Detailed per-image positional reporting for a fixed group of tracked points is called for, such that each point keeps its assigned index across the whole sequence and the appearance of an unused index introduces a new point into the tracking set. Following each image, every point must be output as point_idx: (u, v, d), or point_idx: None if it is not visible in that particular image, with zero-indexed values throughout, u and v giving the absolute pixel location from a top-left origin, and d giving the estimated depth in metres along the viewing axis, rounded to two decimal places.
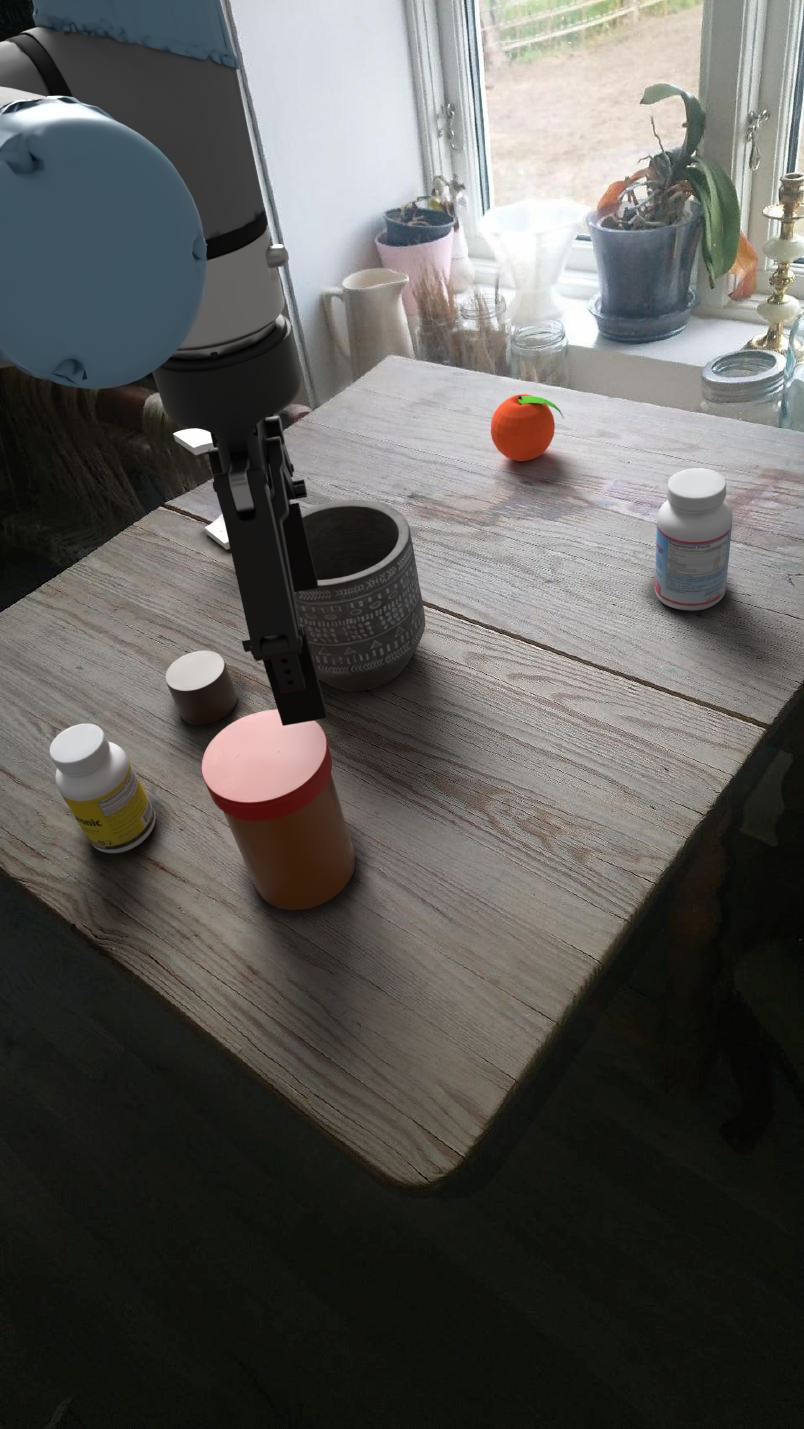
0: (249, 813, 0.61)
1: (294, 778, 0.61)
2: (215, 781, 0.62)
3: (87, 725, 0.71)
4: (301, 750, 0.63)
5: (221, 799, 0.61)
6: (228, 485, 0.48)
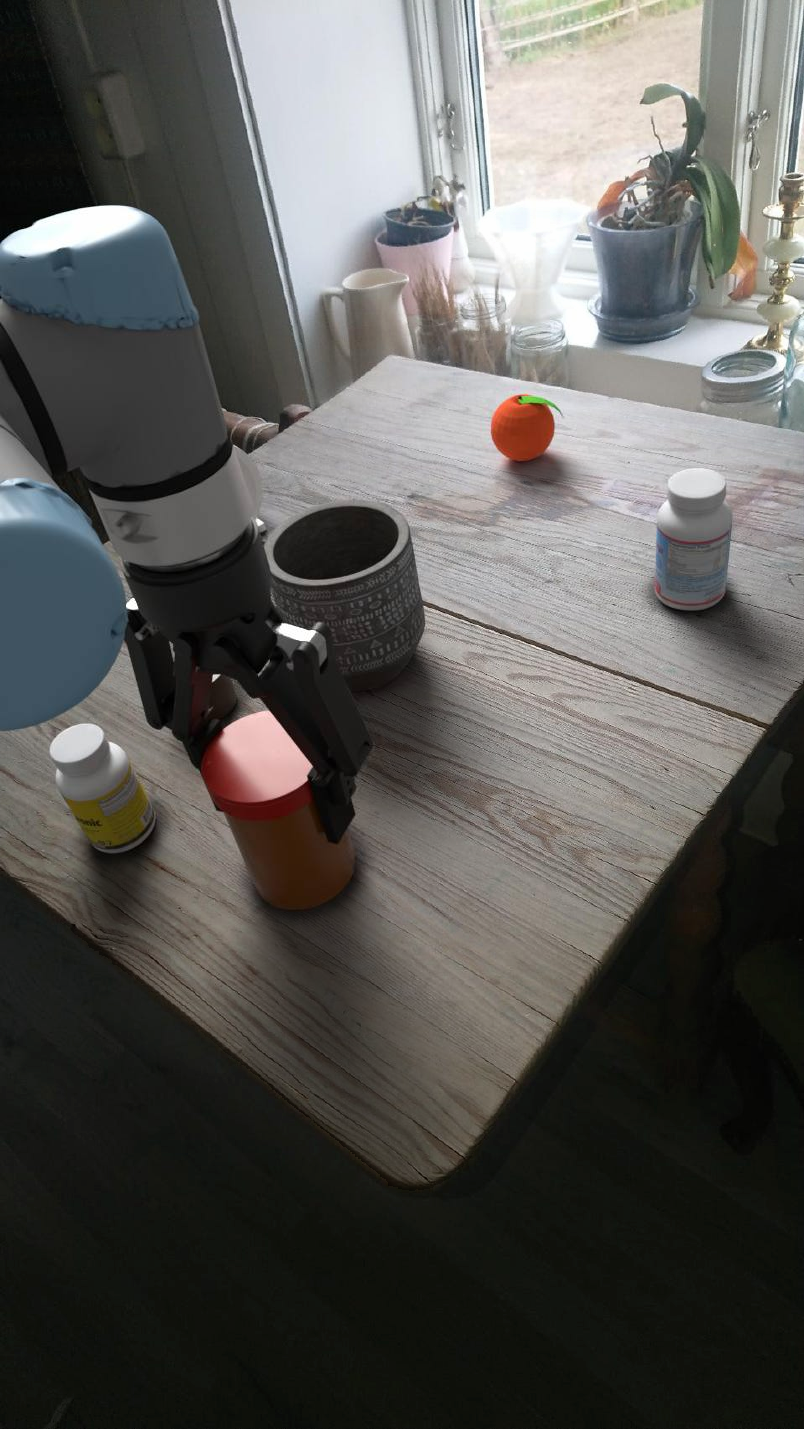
0: (249, 813, 0.61)
1: (294, 778, 0.61)
2: (215, 781, 0.62)
3: (87, 725, 0.71)
4: None
5: (221, 799, 0.61)
6: None
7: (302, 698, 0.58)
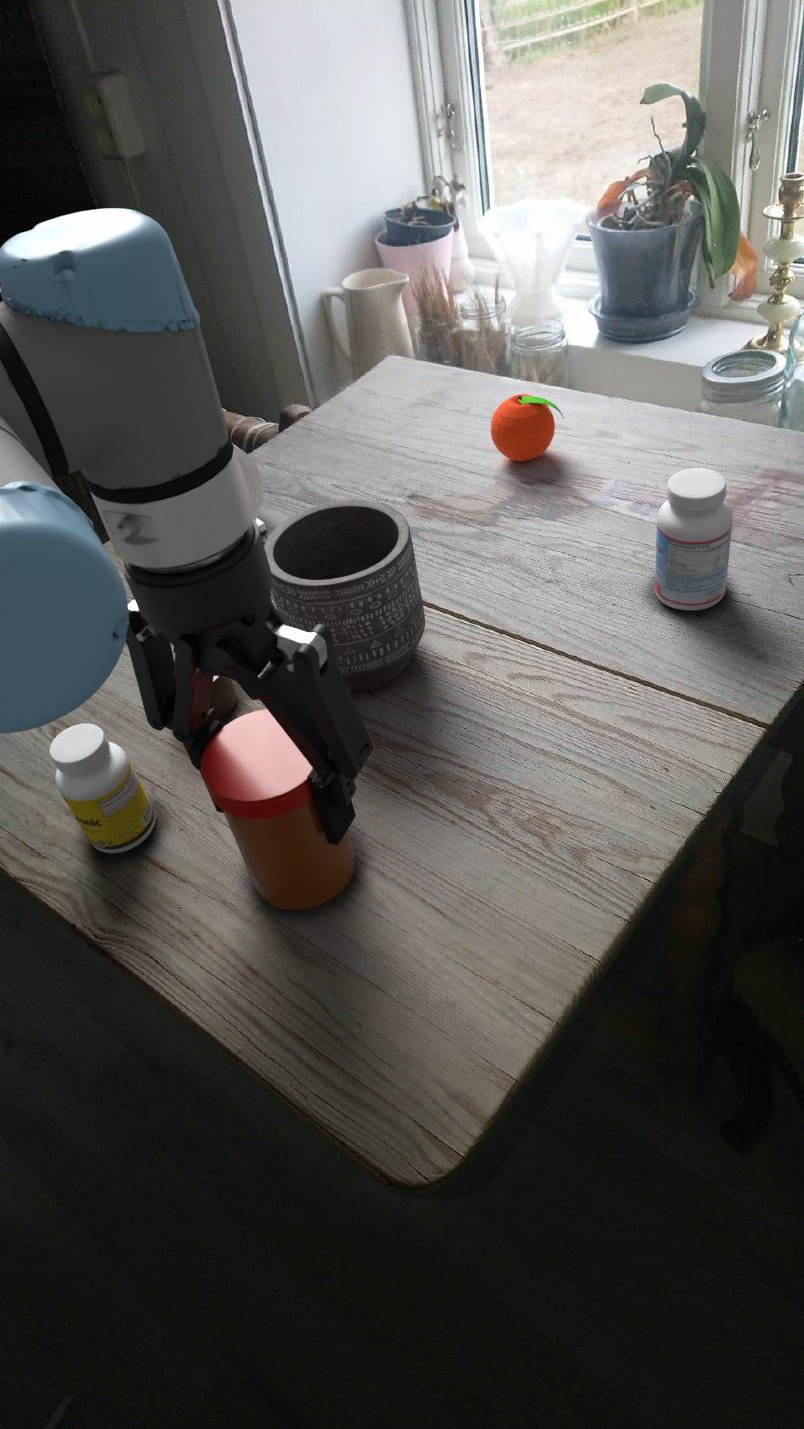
0: None
1: None
2: (302, 773, 0.61)
3: (87, 725, 0.71)
4: (258, 727, 0.65)
5: None
6: None
7: (303, 699, 0.58)
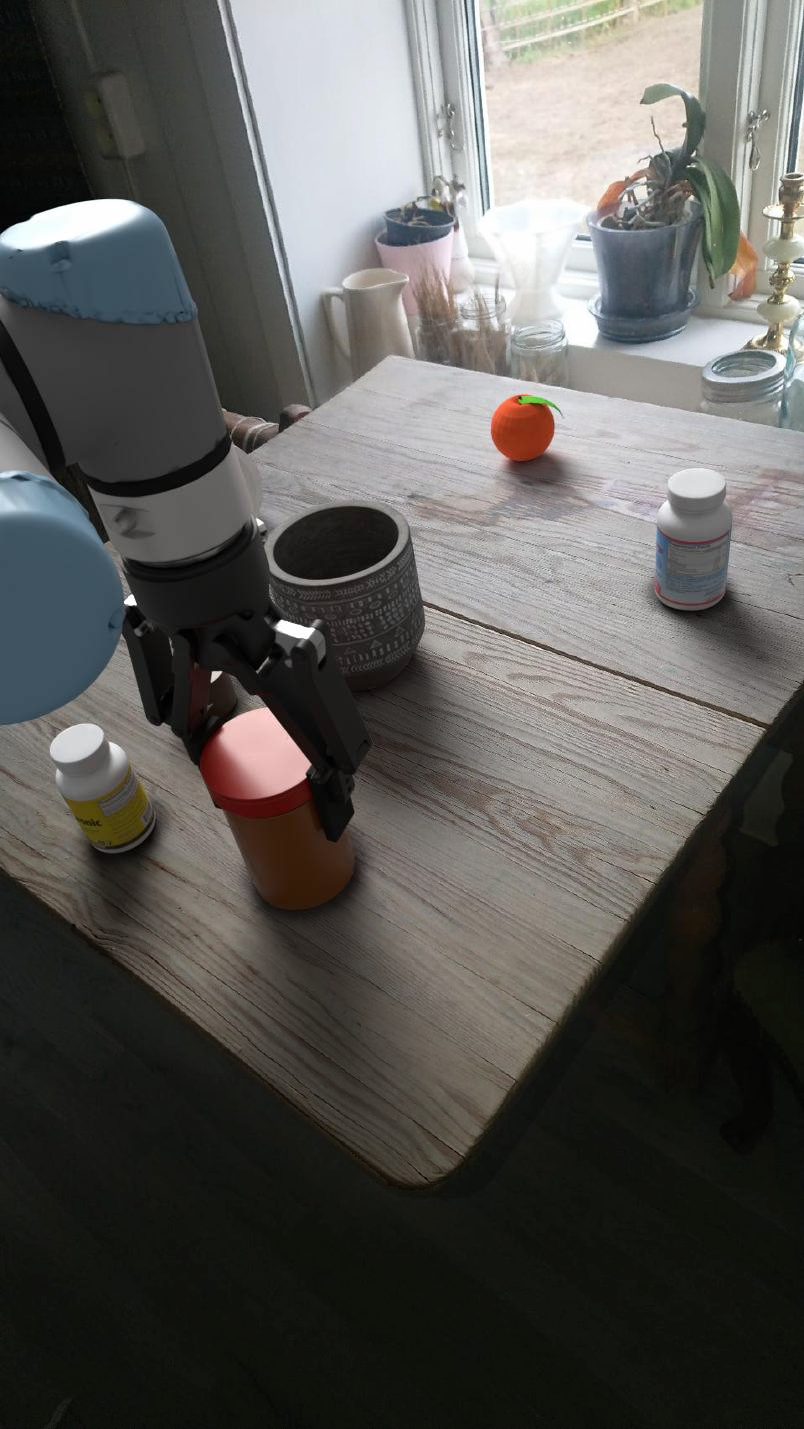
0: None
1: (216, 745, 0.64)
2: None
3: (87, 725, 0.71)
4: (228, 768, 0.62)
5: None
6: None
7: (301, 695, 0.57)
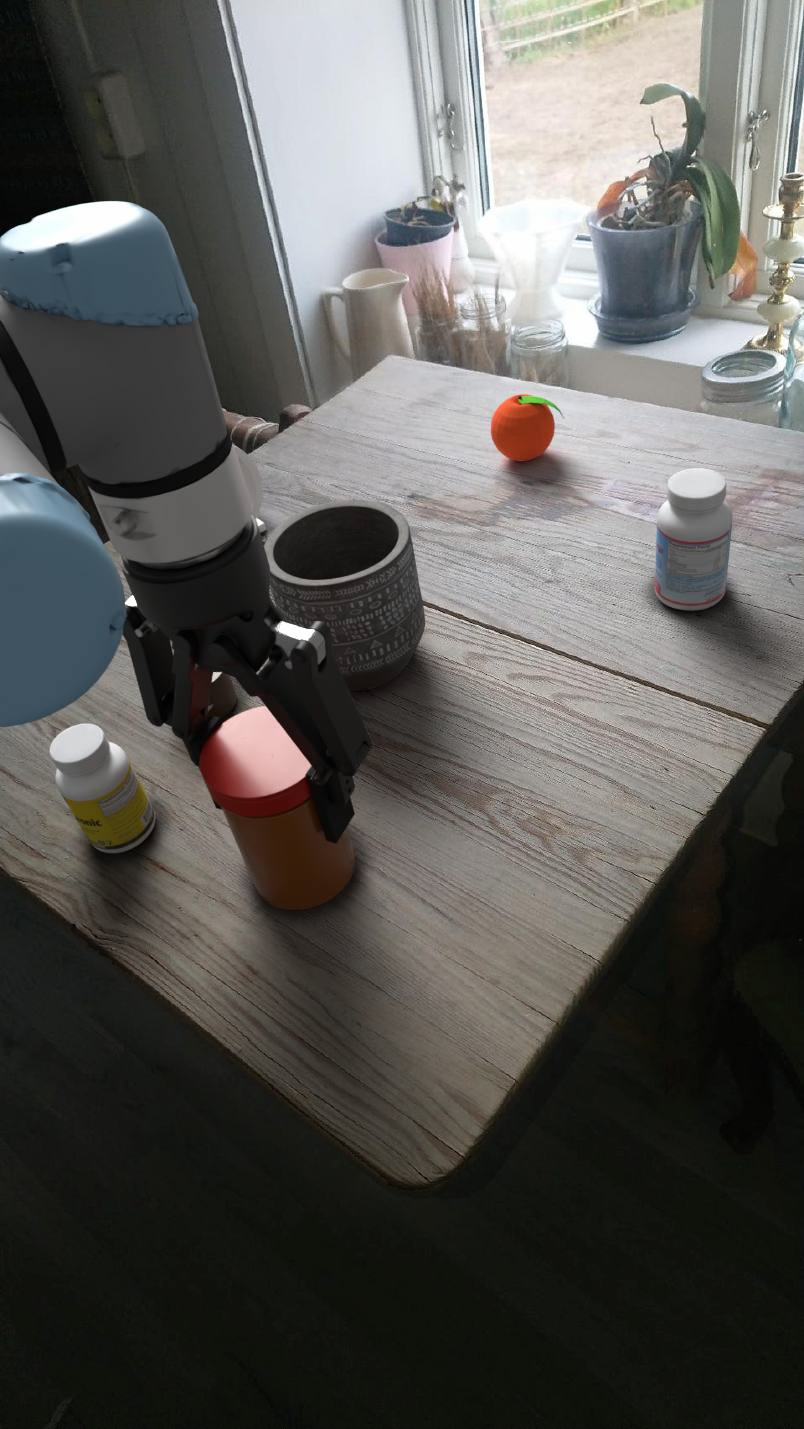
0: (211, 793, 0.62)
1: (256, 787, 0.60)
2: (210, 749, 0.63)
3: (87, 725, 0.71)
4: (287, 765, 0.61)
5: (200, 767, 0.63)
6: None
7: (301, 696, 0.57)
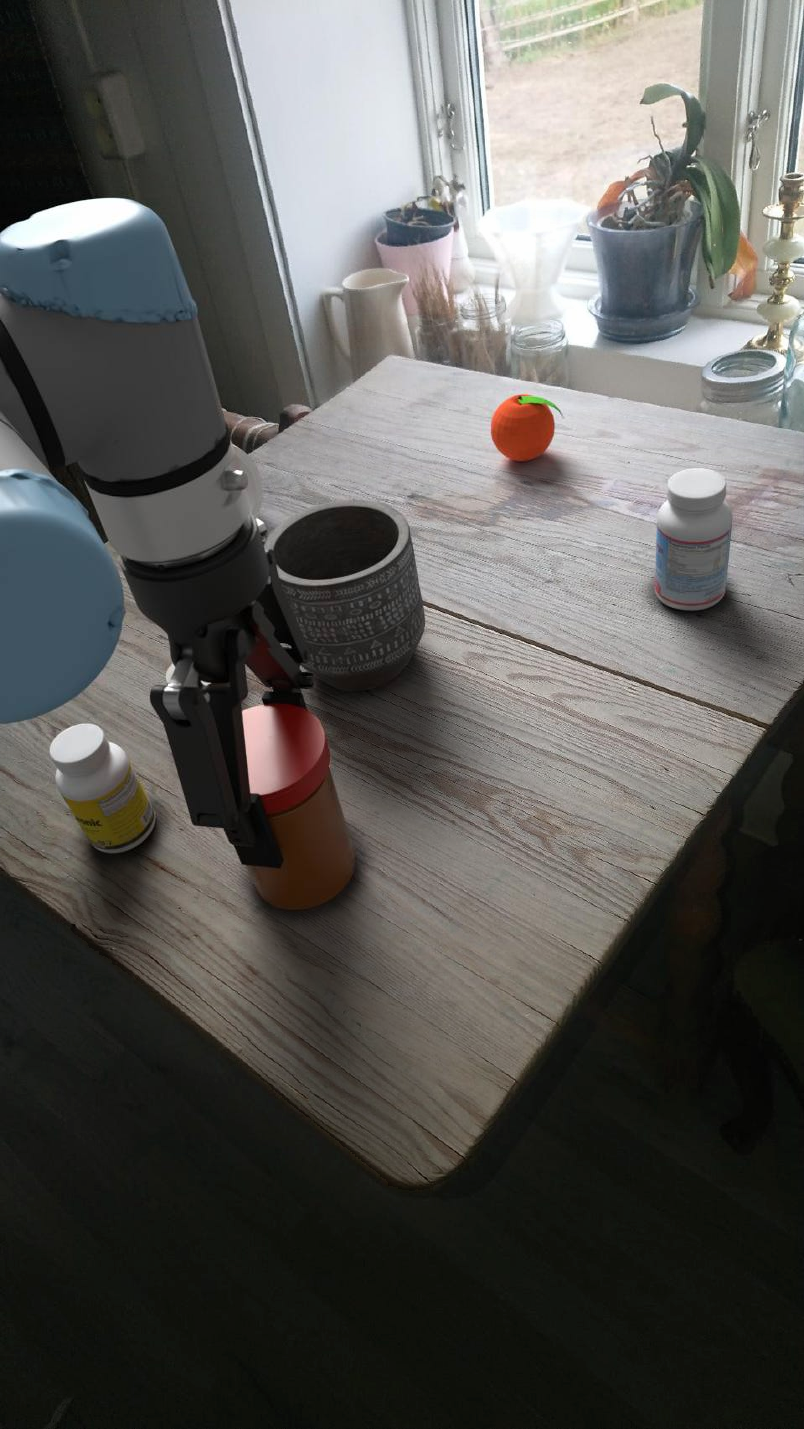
0: (310, 784, 0.61)
1: (311, 734, 0.63)
2: (260, 788, 0.60)
3: (87, 725, 0.71)
4: (284, 722, 0.64)
5: (283, 791, 0.60)
6: (162, 703, 0.51)
7: None
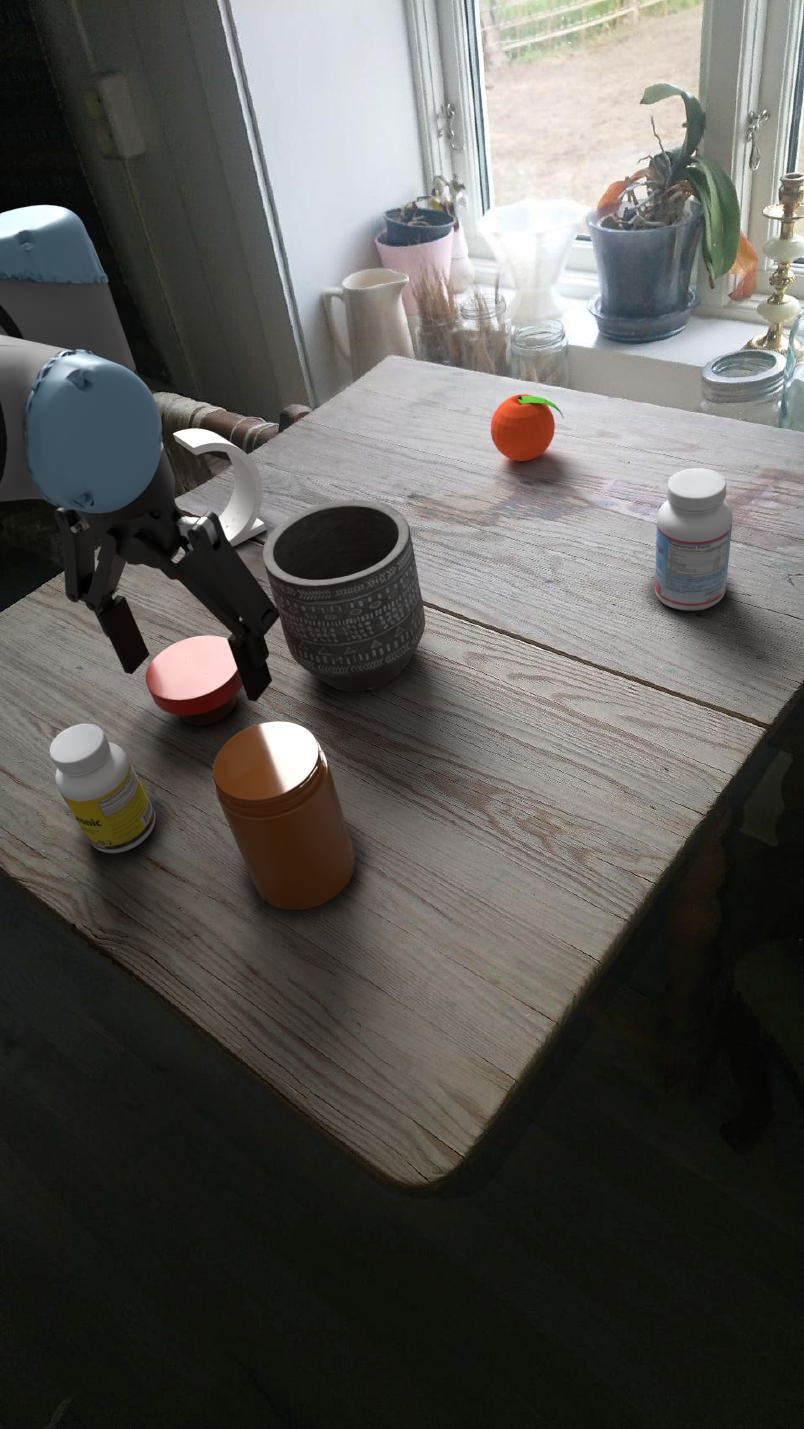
0: None
1: (198, 641, 0.85)
2: (233, 664, 0.82)
3: (87, 725, 0.71)
4: (175, 655, 0.84)
5: None
6: (204, 529, 0.69)
7: None
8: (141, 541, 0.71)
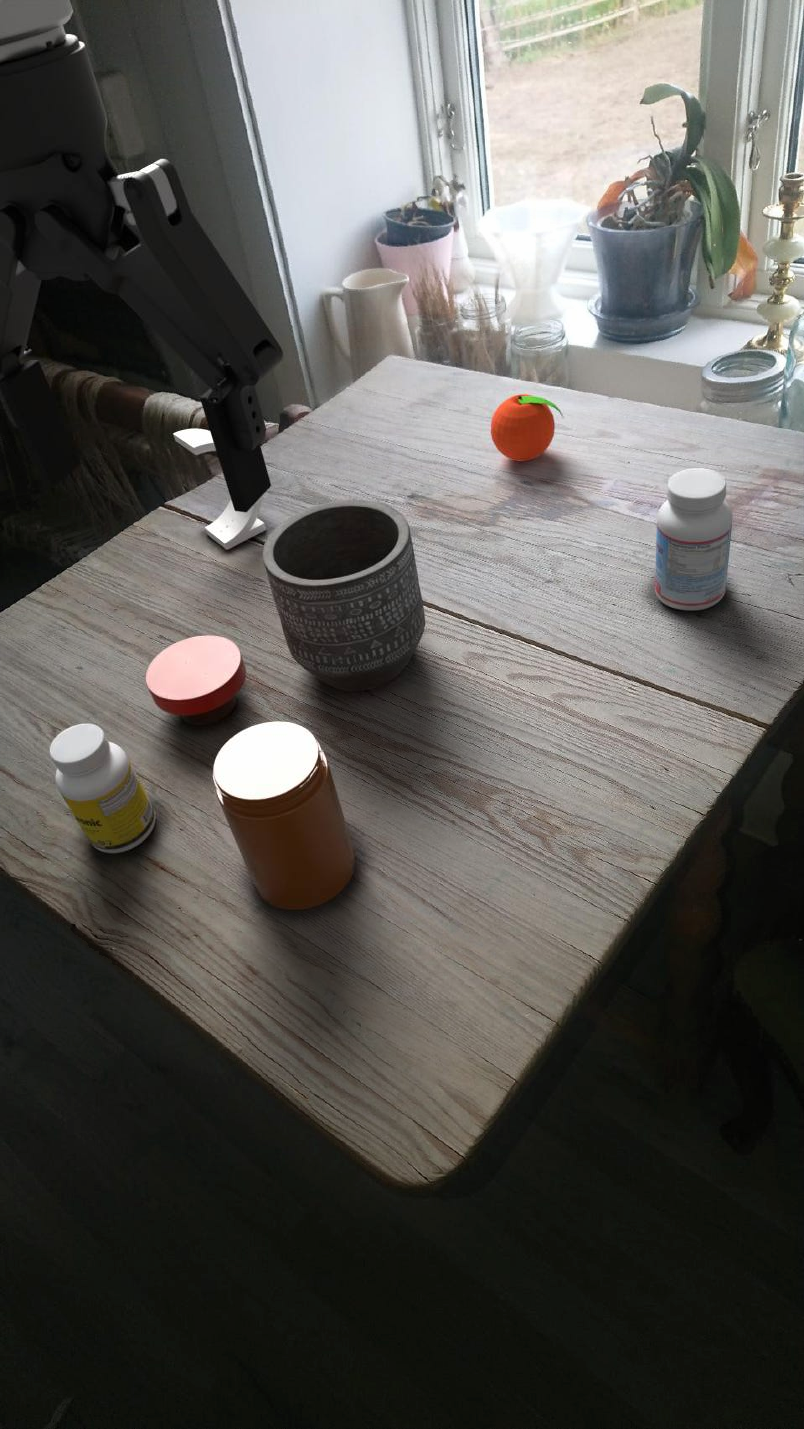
0: None
1: (198, 641, 0.85)
2: (233, 665, 0.82)
3: (87, 725, 0.71)
4: (175, 655, 0.84)
5: (241, 656, 0.83)
6: (151, 180, 0.42)
7: None
8: (52, 217, 0.44)
